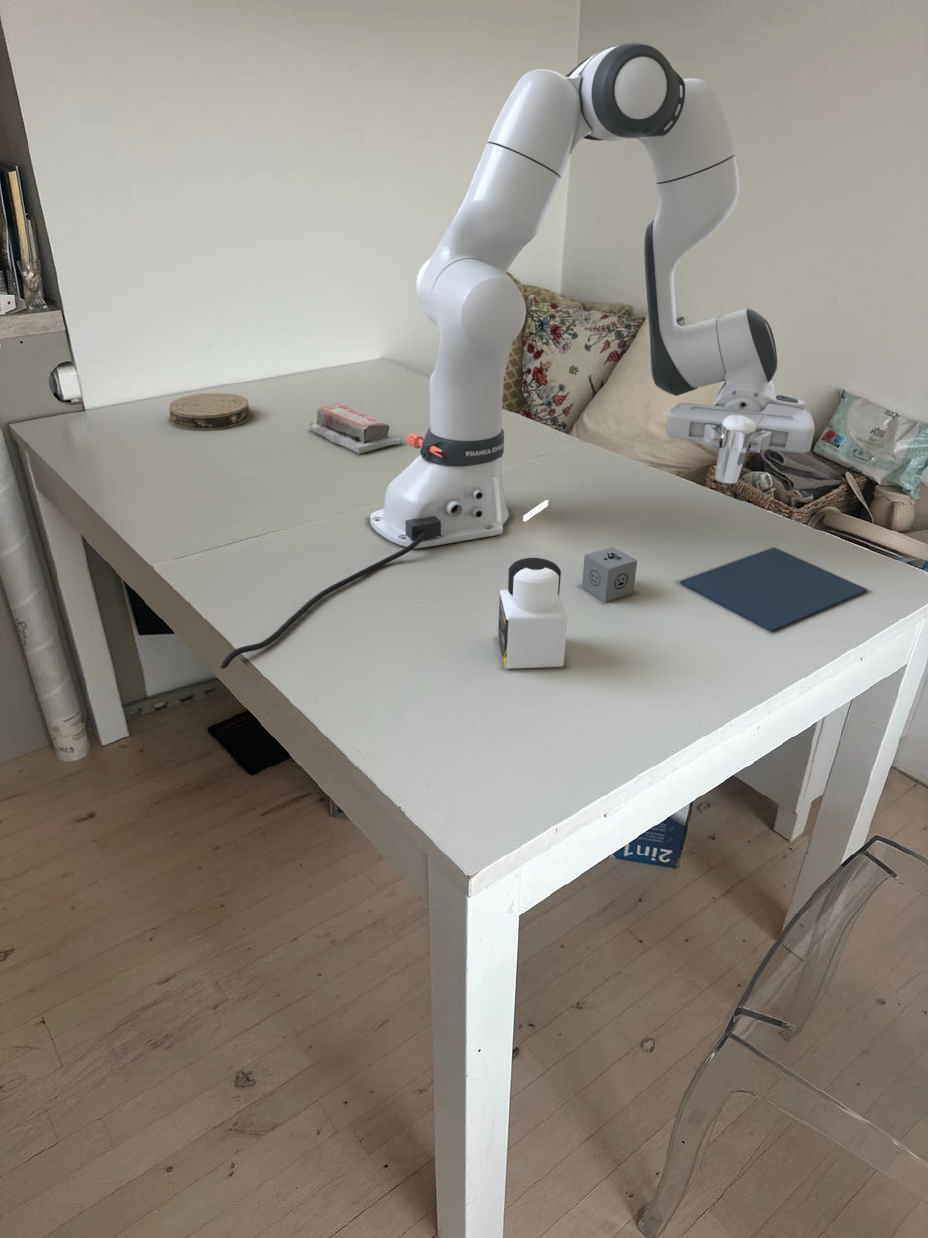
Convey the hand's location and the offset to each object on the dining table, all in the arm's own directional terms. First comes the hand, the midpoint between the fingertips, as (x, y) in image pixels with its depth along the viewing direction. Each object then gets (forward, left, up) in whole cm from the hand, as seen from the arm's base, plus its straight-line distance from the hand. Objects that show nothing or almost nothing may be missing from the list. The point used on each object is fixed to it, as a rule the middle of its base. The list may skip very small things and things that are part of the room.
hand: (735, 444), depth 124 cm
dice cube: (-19, +2, -18) cm, 27 cm away
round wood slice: (-37, +104, -18) cm, 112 cm away
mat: (+1, -10, -18) cm, 20 cm away
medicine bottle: (-38, -5, -18) cm, 43 cm away
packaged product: (-18, +77, -18) cm, 81 cm away
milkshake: (+1, +1, -6) cm, 6 cm away
